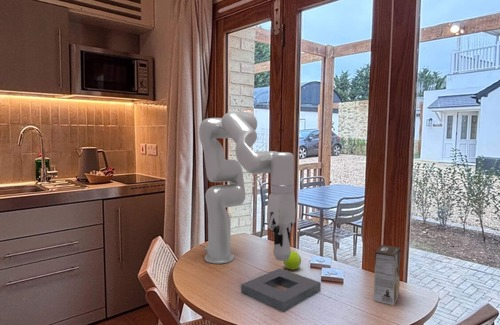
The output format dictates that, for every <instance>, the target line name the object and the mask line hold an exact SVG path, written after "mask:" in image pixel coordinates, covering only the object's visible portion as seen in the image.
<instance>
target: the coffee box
mask: <svg viewBox="0 0 500 325" xmlns="http://www.w3.org/2000/svg"><path fill="white" fill-rule="evenodd" d="M401 250H402V248H401V247H398V246H397V247H396V246H390V245H385V244H380V245H379V246H378V248H377V249H376V250H375V251H374V282H373V283H374V286H373V287H374V288H373V301H374V302H377V303H378V302H379V303H382V304H386V305H390V306H395V305H396V303H397V300H398V298H399V296H400V285H401V284H400V279H401V277H400V276H401V274H400V273H401Z"/></svg>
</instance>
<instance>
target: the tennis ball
mask: <svg viewBox="0 0 500 325" xmlns="http://www.w3.org/2000/svg"><path fill="white" fill-rule="evenodd" d="M282 262H283V264H284V266H285V268H287V269H288V270H293V271H294V270H297V269H298V268H299V267H301V263H302V257H301V256H300V254H299V253H298V252H296V251H292V250H291V254H290V256H289V259H288V260H286V261H282Z"/></svg>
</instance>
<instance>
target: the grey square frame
mask: <svg viewBox="0 0 500 325" xmlns="http://www.w3.org/2000/svg"><path fill="white" fill-rule="evenodd" d="M321 284H322V283H321V281H318V280H315V279H312V278H308V277H306V276H303V275H300V274H298V273H295V272H292V271H289V270H286V269H282V268H277V269H275V270H272V271H270V272H268V273H264V274H263V275H261V276H258V277H255V278H252V279H250V280H248V281H246V282H243V283H241V284H240V285H241V286H240V293H241V294H243V295H245V296H247V297H249V298H251V299H254V300H255V301H258V302H259V303H262V304H265V305H267V306H268V307H271V308H273V309H276V310H278V311H280V312H282V313H284V312H286V311H288V310H289V309H291V308H293V307H295V306H296V305H298V304H300V303H301V302H303V301H305V300H307V299H309V298H311V297H312V296H315V295H316V294H318V293H319V292H321V288H322V287H321V286H322V285H321ZM279 285H280V286H282V287H285V288H287V289H285V290H281V289H278V288H276V287H277V286H279Z"/></svg>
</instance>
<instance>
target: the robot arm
mask: <svg viewBox="0 0 500 325" xmlns="http://www.w3.org/2000/svg"><path fill="white" fill-rule="evenodd" d="M257 127H258V120H257V117H256V116H255V115H254V114H253V113H251V112H244V111H229V112H227V113H225V114H224V115H223V116H222V117H210V118H205V119H203V120H202V121H201V122H200V125H199V130H198V134H199V135H198V136H199V140H200V143H201V146H202V149H203V154H204V163H205V172H206V178H207V180H208V181H209V182H211V183H225V182H228V184H219V185H212V186H210V187H209V188H208V189H207V190H206V191H205V203H206V208H207V240H208V241H207V242H208V243H207V245H206V246H205V247H204V251H206V254H205V255H204V260H205V262H207V263H210V264H216V265H217V264H218V265H220V264H227V263H231V262H232V261H234V259H235V254H234V253H232V252H231V247H232V246H231V241H232V240H231V239H232V238H231V230H232V229H231V225H232V224H231V215H230V214H229V212H228V211H227V209H226V208H231V207H237V206H241V205H242V204H244V202H245V200H246V188H245V187H246V186H245V180H244V174H243V169H244V170H245V171H246V172H248V173H249V174H252V175H253V174H254V175H257V174H270V194H269V195H268V201H267V209H266V223H267V229H269V230H271V231H272V234H273V236H274V237H273V239H274V240H273V243H274V244H273V245H276V244H279V243H280V246H281V247H282V246H283V235H282V234H281V233H282V225H284V224H286V223H289V226H288V228H287V233H288V239H289V244H291V232H292V227H293V226H294V224H295V223H296V215H297V214H296V212H297V211H296V200H295V194H294V193H295V192H294V188H295V187H294V182H295V181H294V180H295V178H294V176H295V174H294V171H295V169H294V168H295V166H294V165H295V164H294V163H295V162H294V161H295V159H294V158H295V156H294V154H293V153H292V152H286V151H285V152H283V151H282V152H281V151H280V152H279V151H275V150H269V151H268V150H266V151H265V150H262V151H259V150H258V151H254V150H252V149H251V147H252V146H253V145H254V144H255V143H256V141H257V139H258V134H257V131H256V130H257ZM217 139H231V140H233V142H234V143H235V144H236V145H235V156H236V159H226V156H225V151H224V150H225V149H224V147H223V146H222V144H221V142H220V141H219V140H217ZM277 227H278V228H277Z"/></svg>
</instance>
